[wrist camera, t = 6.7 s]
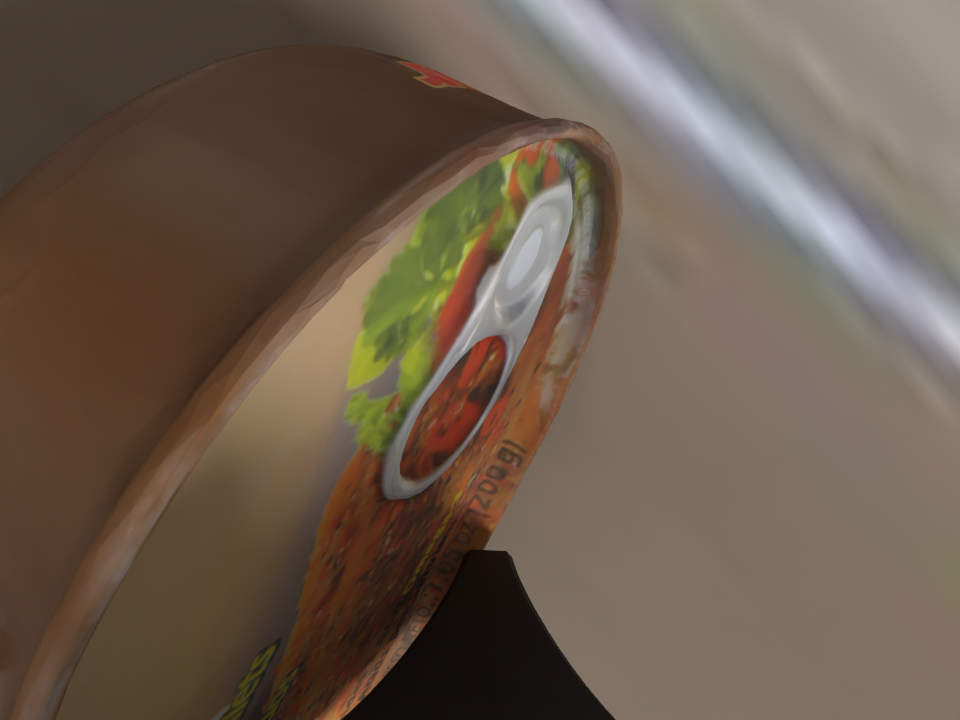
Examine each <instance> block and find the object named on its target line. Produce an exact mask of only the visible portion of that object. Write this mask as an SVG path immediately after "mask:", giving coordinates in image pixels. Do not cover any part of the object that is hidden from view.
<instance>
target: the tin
mask: <svg viewBox="0 0 960 720" xmlns="http://www.w3.org/2000/svg"><path fill="white" fill-rule="evenodd" d="M621 223H622V179H621V171H620V167H619V164H618V161H617V159H616V155H615V152H614V151H613V149H612V147H611V145H610V144H609V143H608V142H607V141H605V140H604V138H603V137H602V136H601V135H600V134H599V133H598V132H597V131H596V130H595V129H593V128H592V127H589V126H587V125H585V124H583V123H580V122H575V121H570V120H565V119H560V118H550V119H541V118H539V117H537V116H534V115H532V114H529V113H527V112H524V111H522V110H519V109H517V108H515V107H513V106H510V105H508V104H506V103H504V102H502V101H500V100H497V99H495V98H493V97H491V96H489V95H487V94H485V93H482V92H480V91H478V90H476V89H474V88H472V87H469V86H467V85H465V84H463V83H461V82H459V81H457V80H454V79H452V78H450V77H448V76H446V75H444V74H441V73H439V72H436V71H434V70H431V69H428V68H426V67H423V66H420V65H418V64H415V63H412V62H409V61H407V60H404V59H401V58H397V57H393V56H390V55H386V54H382V53H378V52H374V51H370V50H366V49H360V48H352V47H344V46H336V45H292V46H285V47H277V48H270V49H263V50H256V51H253V52H249V53H246V54H242V55H238V56H235V57H231V58H227V59H224V60H221V61H218V62H215V63H213V64H210V65H207V66H205V67H202V68H199V69H197V70H194V71H192V72H189V73H186V74H184V75H181V76H179V77H177V78H174V79H172V80H170V81H168V82H166V83H163V84H161V85H159V86H157V87H155V88H153V89H151V90H150V91H148V92H146V93H144V94H142V95H140V96H139V97H137V98H135V99H133V100H131V101H129V102H128V103H126V104H124V105H122V106H120V107H118V108H117V109H115V110H113V111H111V112H109V113H108V114H106V115H105V116H103V117H102V118H100V119H99V120H98V121H96V122H95V123H93V124H92V125H91V126H89V127H88V128H86V129H85V130H84V131H82V132H81V133H79V134H78V135H77V136H75V137H74V138H72V139H71V140H70V141H68V142H67V143H65V144H64V145H63V146H62V147H60V148H59V149H58V150H56V151H55V152H54V153H53V154H51V155H50V156H49V157H48V158H46V159H45V160H44V161H43V162H41V163H40V164H39V165H37V166H36V167H35V168H34V169H33V170H32V171H31V172H30V173H29V174H28V175H26V176H25V177H24V178H23V179H22V180H21V181H20V182H19V183H18V184H17V185H15V186H14V187H13V188H12V189H11V190H10V191H9V192H8V193H7V194H6V195H4V196H3V197H2V198H1V199H0V720H342V719H343V718H344V717H345V716H346V715H347V714H348V713H349V712H350V711H351V710H352V709H353V708H354V707H355V706H356V705H357V704H358V703H359V702H360V701H362V700H363V699H364V698H365V697H366V696H367V695H368V694H369V693H370V692H371V691H372V689H373V688H374V687H375V686H376V685H377V684H378V683H379V682H380V681H381V680H382V679H383V678H384V677H385V676H386V674H387V673H388V672H389V671H390V670H391V669H392V668H393V666H394V665H395V664H396V663H397V662H398V660H399V659H400V658H401V657H402V656H403V654H404V653H405V652H406V651H407V649H408V648H409V647H410V645H411V644H412V643H413V641H414V640H415V639H416V637H417V636H418V635H419V633H420V632H421V631H422V629H423V628H424V627H425V625H426V624H427V622H428V621H429V619H430V618H431V616H432V615H433V613H434V612H435V610H436V608H437V607H438V605H439V604H440V602H441V601H442V599H443V597H444V596H445V594H446V592H447V591H448V589H449V587H450V585H451V583H452V582H453V580H454V578H455V576H456V574H457V572H458V569H459V567H460V565H461V562H462V559H463V555H464V554H466V553H467V552H468V551H469V550H484V548H485V546H486V544H487V542H488V541H489V539H490V537H491V535H492V533H493V531H494V530H495V528H496V526H497V524H498V522H499V520H500V519H501V517H502V515H503V513H504V511H505V509H506V507H507V506H508V504H509V502H510V500H511V498H512V496H513V494H514V493H515V491H516V489H517V487H518V485H519V483H520V481H521V479H522V477H523V476H524V474H525V472H526V470H527V468H528V466H529V464H530V463H531V461H532V459H533V457H534V455H535V453H536V452H537V450H538V448H539V446H540V444H541V442H542V440H543V439H544V437H545V435H546V433H547V431H548V429H549V427H550V425H551V423H552V421H553V419H554V417H555V415H556V414H557V412H558V410H559V407H560V405H561V403H562V401H563V399H564V397H565V395H566V393H567V391H568V389H569V387H570V385H571V382H572V379H573V376H574V374H575V372H576V370H577V368H578V365H579V363H580V361H581V358H582V356H583V354H584V351H585V349H586V346H587V344H588V342H589V339H590V337H591V334H592V332H593V329H594V327H595V325H596V322H597V319H598V316H599V314H600V311H601V308H602V305H603V302H604V298H605V295H606V293H607V291H608V288H609V282H610V277H611V273H612V269H613V266H614V262H615V259H616V253H617V246H618V241H619V236H620V230H621Z"/></svg>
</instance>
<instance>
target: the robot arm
mask: <svg viewBox="0 0 960 720" xmlns="http://www.w3.org/2000/svg"><path fill="white" fill-rule="evenodd" d="M342 720H615V719H614V717H613V716H612V715H611V714H610V713H609V712H608V711H607V710H606V709H605V707H604V706H603V705H602V704H601V703H600V702H599V700H598V699H597V698H596V697H595V696H594V694H593V693H592V692H591V691H590V690H589V688H588V687H587V686H586V685H585V683H584V682H583V681H582V679H581V678H580V677H579V675H578V674H577V673H576V671H575V670H574V669H573V667H572V666H571V665H570V663H569V662H568V660H567V659H566V657H565V656H564V655H563V653H562V652H561V650H560V649H559V647H558V646H557V644H556V643H555V641H554V640H553V638H552V637H551V635H550V633H549V632H548V630H547V629H546V627H545V625H544V623H543V622H542V620H541V618H540V617H539V615H538V613H537V611H536V610H535V608H534V606H533V604H532V603H531V601H530V599H529V597H528V595H527V593H526V591H525V589H524V587H523V585H522V582H521V580H520V578H519V576H518V573H517V571H516V568H515V565H514V562H513V559H512V557H511V556H510V555H509V554H508V553H507V551H491V550H469V551H468V552H467V553H466V554H464V555H463V559H462V562H461V565H460V567H459V569H458V572H457V574H456V576H455V578H454V580H453V582H452V583H451V585H450V587H449V589H448V591H447V592H446V594H445V596H444V597H443V599H442V601H441V602H440V604H439V605H438V607H437V608H436V610H435V612H434V613H433V615H432V616H431V618H430V619H429V621H428V622H427V624H426V625H425V627H424V628H423V629H422V631H421V632H420V633H419V635H418V636H417V637H416V639H415V640H414V641H413V643H412V644H411V645H410V647H409V648H408V649H407V651H406V652H405V653H404V654H403V656H402V657H401V658H400V659H399V660H398V662H397V663H396V664H395V665H394V666H393V668H392V669H391V670H390V671H389V672H388V673H387V674H386V676H385V677H384V678H383V679H382V680H381V681H380V682H379V683H378V684H377V685H376V686H375V687H374V688H373V689H372V691H371V692H370V693H369V694H368V695H367V696H366V697H365V698H364V699H363V700H362V701H360V702H359V703H358V704H357V705H356V706H355V707H354V708H353V709H352V710H351V711H350V712H349V713H348V714H347V715H346V716H345V717H344V718H343V719H342Z"/></svg>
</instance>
